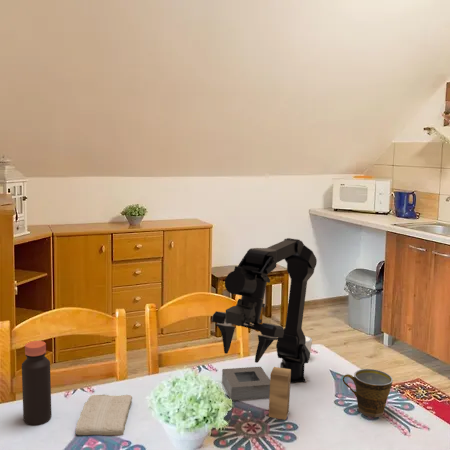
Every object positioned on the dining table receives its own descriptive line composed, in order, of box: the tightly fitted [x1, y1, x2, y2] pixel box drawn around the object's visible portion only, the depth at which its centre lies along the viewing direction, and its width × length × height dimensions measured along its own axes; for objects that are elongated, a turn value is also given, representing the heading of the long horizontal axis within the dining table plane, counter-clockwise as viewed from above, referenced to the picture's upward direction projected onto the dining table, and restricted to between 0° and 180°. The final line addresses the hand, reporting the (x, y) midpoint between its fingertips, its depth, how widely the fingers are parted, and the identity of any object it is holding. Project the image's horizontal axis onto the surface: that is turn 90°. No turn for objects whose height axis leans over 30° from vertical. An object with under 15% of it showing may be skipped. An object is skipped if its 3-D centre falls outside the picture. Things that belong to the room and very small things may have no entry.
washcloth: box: [75, 394, 133, 436], centre depth 134 cm, size 12×18×3 cm, turn 4°
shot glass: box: [305, 335, 313, 353], centre depth 175 cm, size 7×7×7 cm
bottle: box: [21, 340, 52, 426], centre depth 131 cm, size 7×7×20 cm
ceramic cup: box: [342, 368, 394, 418], centre depth 141 cm, size 13×10×10 cm
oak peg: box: [268, 366, 291, 420], centre depth 138 cm, size 5×5×12 cm
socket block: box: [221, 366, 270, 402], centre depth 152 cm, size 12×12×4 cm
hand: (240, 357), depth 133 cm, fingers open, 9 cm apart
